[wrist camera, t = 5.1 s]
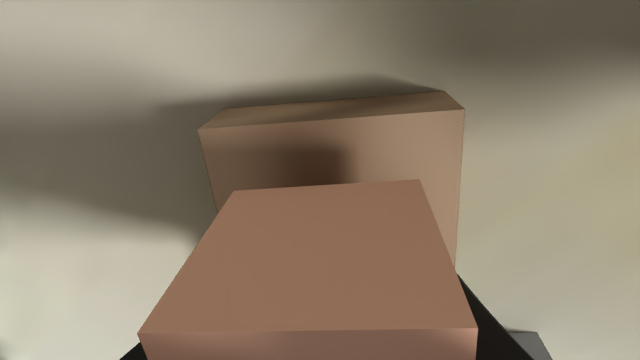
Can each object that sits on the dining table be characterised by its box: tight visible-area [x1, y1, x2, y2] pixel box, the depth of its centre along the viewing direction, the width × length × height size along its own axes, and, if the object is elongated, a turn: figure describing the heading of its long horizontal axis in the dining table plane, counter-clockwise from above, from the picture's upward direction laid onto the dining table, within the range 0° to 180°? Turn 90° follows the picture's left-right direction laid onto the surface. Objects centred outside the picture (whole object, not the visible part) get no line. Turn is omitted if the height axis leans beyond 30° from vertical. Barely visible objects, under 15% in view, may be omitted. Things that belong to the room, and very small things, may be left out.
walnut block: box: [197, 91, 465, 268], centre depth 14 cm, size 8×8×3 cm
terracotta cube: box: [137, 179, 478, 360], centre depth 9 cm, size 5×5×5 cm
